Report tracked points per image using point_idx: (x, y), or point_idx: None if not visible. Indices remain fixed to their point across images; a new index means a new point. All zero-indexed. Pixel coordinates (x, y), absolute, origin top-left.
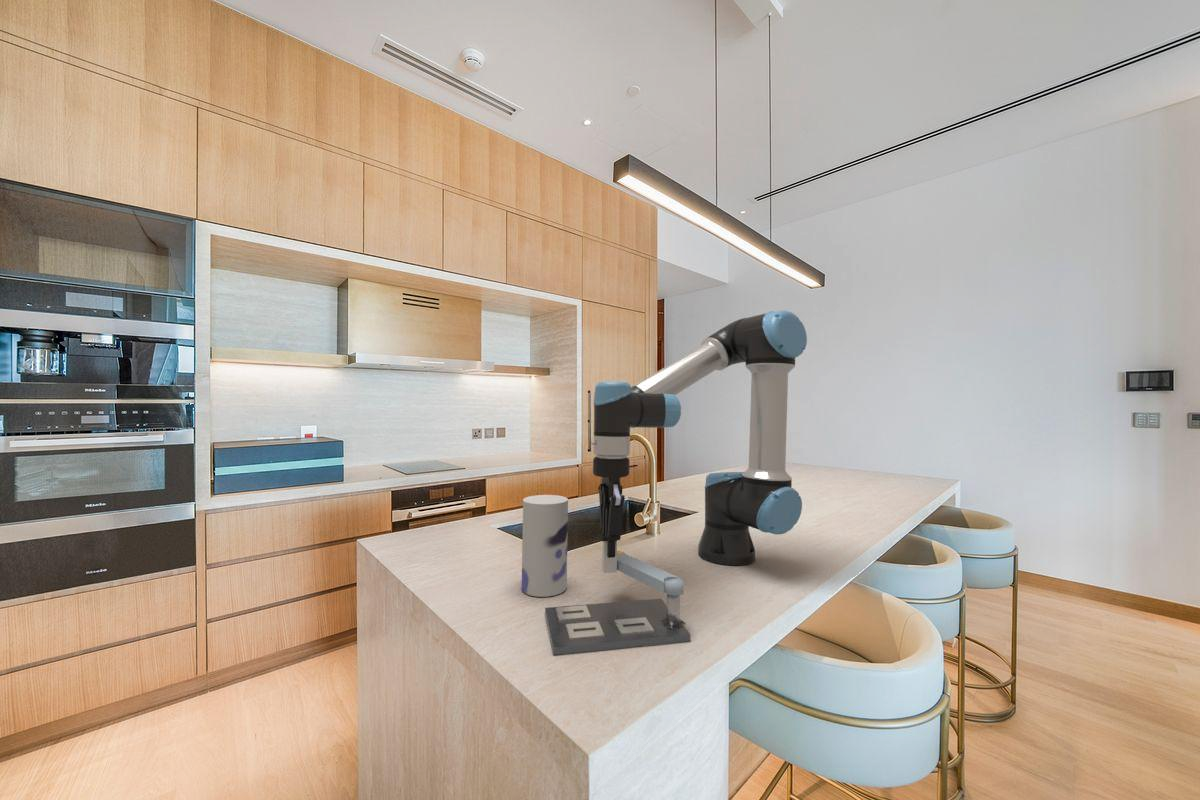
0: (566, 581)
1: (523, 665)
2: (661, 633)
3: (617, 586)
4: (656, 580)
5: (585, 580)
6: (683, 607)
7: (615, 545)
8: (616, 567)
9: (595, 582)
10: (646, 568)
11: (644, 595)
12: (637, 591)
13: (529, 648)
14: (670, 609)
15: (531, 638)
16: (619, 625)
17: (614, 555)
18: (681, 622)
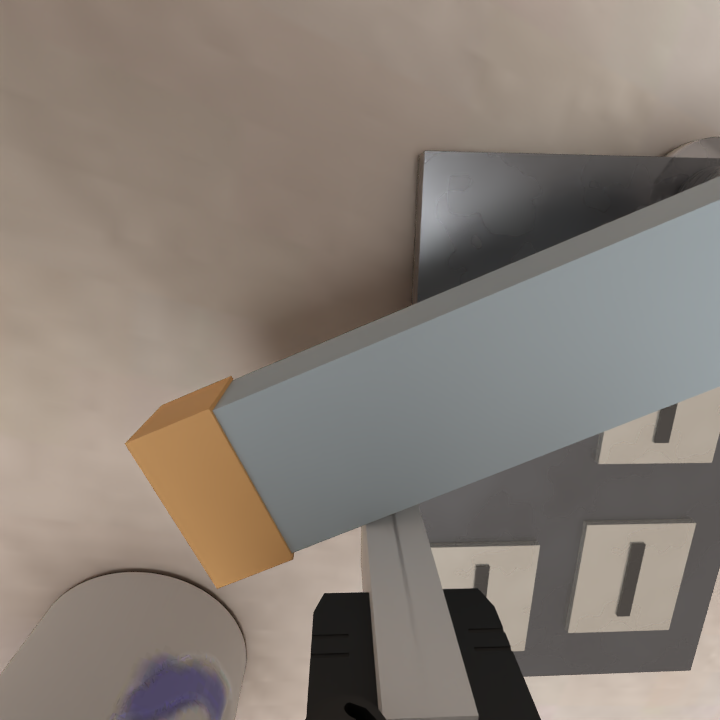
0: (153, 602)
1: (687, 715)
2: None
3: (144, 329)
4: None
5: (50, 475)
6: (484, 31)
7: (531, 698)
8: None
9: (80, 431)
10: (655, 328)
11: (286, 211)
12: (226, 234)
13: (608, 702)
14: None
15: (553, 697)
16: (651, 455)
17: (493, 610)
18: (716, 153)
